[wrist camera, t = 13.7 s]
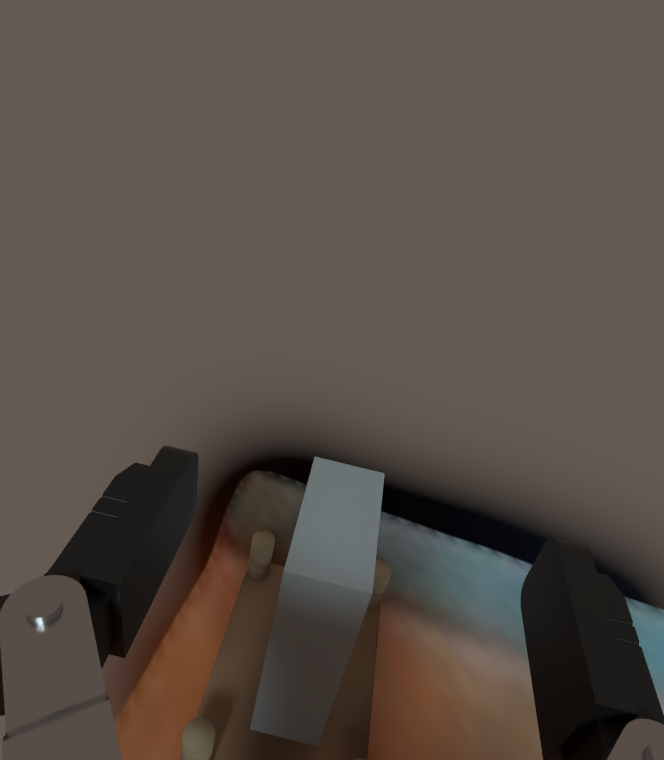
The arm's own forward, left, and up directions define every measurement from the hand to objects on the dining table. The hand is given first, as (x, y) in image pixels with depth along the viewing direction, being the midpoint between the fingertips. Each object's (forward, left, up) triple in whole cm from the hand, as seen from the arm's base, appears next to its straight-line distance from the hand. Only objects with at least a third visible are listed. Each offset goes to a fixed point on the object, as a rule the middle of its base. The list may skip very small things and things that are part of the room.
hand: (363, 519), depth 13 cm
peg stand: (0, -11, -27) cm, 29 cm away
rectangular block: (0, -11, -25) cm, 27 cm away
